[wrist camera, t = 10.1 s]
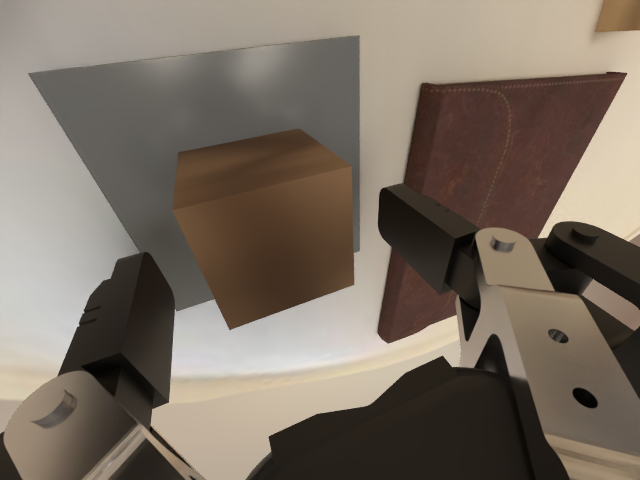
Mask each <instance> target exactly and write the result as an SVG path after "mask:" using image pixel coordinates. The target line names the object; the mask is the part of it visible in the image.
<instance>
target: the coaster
mask: <svg viewBox="0 0 640 480" xmlns="http://www.w3.org/2000/svg"><path fill="white" fill-rule="evenodd" d="M28 74H29V76H30V77H31V79H32V81H33V82H34V84H35V85H36V87H37V89H38V90H39V92H40V93H41V95H42V97H43V98H44V100H45V101H46V103H47V105H48V106H49V108H50V109H51V111H52V113H53V114H54V116H55V117H56V119H57V121H58V122H59V124H60V125H61V127H62V129H63V130H64V132H65V133H66V135H67V137H68V138H69V140H70V141H71V143H72V145H73V146H74V148H75V149H76V151H77V153H78V154H79V156H80V157H81V159H82V161H83V162H84V164H85V165H86V167H87V169H88V170H89V172H90V173H91V175H92V177H93V178H94V180H95V181H96V183H97V185H98V186H99V188H100V189H101V191H102V193H103V194H104V196H105V197H106V199H107V201H108V202H109V204H110V205H111V207H112V209H113V210H114V212H115V213H116V215H117V217H118V218H119V220H120V221H121V223H122V225H123V226H124V228H125V229H126V231H127V232H128V234H129V236H130V237H131V239H132V240H133V242H134V244H135V245H136V247H137V248H138V250H139V252H140V253H143V252H148V253H150V254H151V256H152V257H153V259H154V260H155V262H156V264H157V265H158V267H159V269H160V270H161V272H162V274H163V275H164V277H165V279H166V280H167V282H168V284H169V285H170V287H171V289H172V292H173V295H174V299H175V309H176V311H179V310H182V309H185V308H188V307H191V306H194V305H197V304H200V303H203V302H206V301H209V300H212V299H215V298H214V296H213V294H212V292H211V290H210V288H209V286H208V284H207V282H206V280H205V278H204V275H203V273H202V271H201V269H200V267H199V265H198V263H197V261H196V259H195V257H194V255H193V253H192V250H191V248H190V246H189V244H188V242H187V240H186V238H185V236H184V234H183V232H182V230H181V228H180V225H179V223H178V221H177V219H176V217H175V215H174V213H173V211H172V207H173V198H174V189H175V179H176V170H177V161H178V152H183V151H188V150H193V149H198V148H203V147H208V146H213V145H218V144H223V143H228V142H233V141H238V140H243V139H248V138H253V137H258V136H263V135H268V134H273V133H278V132H284V131H289V130H294V129H299V128H300V129H301V130H303V131H304V132H305V133H307V134H308V135H310V136H311V137H312V138H314V139H315V140H316V141H318V142H319V143H321V144H322V145H323V146H325V147H326V148H328V149H329V150H330V151H332V152H333V153H334V154H336V155H337V156H339V157H340V158H341V159H343V160H344V161H345V162H347V163H348V164H350V165H351V166H352V199H353V248H354V253H355V252H358V251H360V206H359V36H348V37H339V38H330V39H322V40H313V41H304V42H296V43H287V44H278V45H269V46H261V47H252V48H243V49H235V50H226V51H217V52H208V53H200V54H191V55H182V56H173V57H165V58H156V59H147V60H139V61H130V62H121V63H112V64H104V65H95V66H86V67H78V68H69V69H60V70H51V71H43V72H35V73H28Z"/></svg>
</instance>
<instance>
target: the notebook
mask: <svg viewBox="0 0 640 480" xmlns="http://www.w3.org/2000/svg"><path fill="white" fill-rule="evenodd" d="M626 75H627V73H620V72H607V73H606V74H596V75H580V76H564V77H548V78H533V79H517V80H501V81H485V82H469V83H453V84H438V85H436V84H429V83H422V88H421V93H420V99H419V104H418V110H417V116H416V121H415V127H414V132H413V138H412V143H411V149H410V154H409V160H408V166H407V171H406V177H405V182H404V185H406V186H407V187H409V188H410V189H412V190H413V191H415V192H417V193H420V194H423V195H426V196H429V197H431V198H433V199H434V200H436V201H438V202H439V203H441V205H444V206H445V207H447V208H449V210H450V211H451V210H452V211H453V212H455V213H457V214H458V215H460V216H461V217H463V218H464V219H466V220H468V221H469V222H471V223H472V224H474V225H476V226H477V227H479V228H480V229H485V228H493V227H494V228H504V229H508V230H512V231H514V232H517V233H519V234H521V235H523V236H524V237H526V238H527V239H537V238H538V236H539V234H540V233H541V231H542V229H543V227H544V225H545V223H546V222H547V220H548V218H549V216H550V214H551V213H552V211H553V209H554V207H555V205H556V203H557V202H558V200H559V198H560V196H561V194H562V192H563V191H564V189H565V187H566V185H567V183H568V181H569V180H570V178H571V176H572V174H573V172H574V170H575V169H576V167H577V165H578V163H579V161H580V159H581V158H582V156H583V154H584V152H585V150H586V148H587V147H588V145H589V143H590V141H591V139H592V137H593V136H594V134H595V132H596V130H597V128H598V126H599V125H600V123H601V121H602V119H603V117H604V115H605V114H606V112H607V110H608V108H609V106H610V104H611V103H612V101H613V99H614V97H615V95H616V93H617V92H618V90H619V88H620V86H621V84H622V83H623V81H624V79H625V77H626ZM456 295H457V293H456V292H455V291H454V290H452V291H450V292H447V293H445V294H442V295H439V294H438V293H437V292H436V291H435V290H434V289H433V288H432V287H431V286H430V285H429V284H428V283H427V282H426V281H425V280H424V279H423V278H422V277H421V276H420V275H419V274H418V273H417V272H416V271H415V270H414V269H413V268H412V267H411V266H410V265H409V264H408V263H407V262H406V261H405V260H404V259H403V258H402V257H401V256H400V255H399V254H398V253H397V252H396V251H395V250H394V249H392V255H391V260H390V266H389V271H388V277H387V283H386V288H385V294H384V299H383V305H382V310H381V316H380V322H379V327H378V334H379V336H380V337H381V339H382V340H384V341H385V342H387V343H391V342H394V341H397V340H399V339H402V338H405V337H408V336H410V335H413V334H415V333H417V332H419V331H421V330H423V329H424V328H426V327H427V326H429V325H431V324H434V323H436V322H439V321H441V320H444V319H447V318H449V317H452V316H455V315H457V312H456V304H455V299H456Z"/></svg>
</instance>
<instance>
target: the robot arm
mask: <svg viewBox="0 0 640 480" xmlns="http://www.w3.org/2000/svg"><path fill="white" fill-rule="evenodd" d="M378 228H379V232H380V234H381V236H382V238H383V239H384V240H385V241H386V242H387V243H388V244H389V245H390V246H391V247H392V248H393V249H394V250H395V251H396V252H397V253H398V254H399V255H400V256H401V257H402V258H403V259H404V260H405V261H406V262H407V263H408V264H409V265H410V266H411V267H412V268H413V269H414V270H415V271H416V272H417V273H418V274H419V275H420V276H421V277H422V278H423V279H424V280H425V281H426V282H427V283H428V284H429V285H430V286H431V287H432V288H433V289H434V290H435V291H436V292H437V293H438V294H439V295H442V294H445V293H447V292H450V291H452V290H454V291H455V292H456V293H457V295H456V299H455V304H456V312H457V321H458V329H459V337H460V345H461V357H460V364H459V367H451V365H450V364H449V363H448V362H447V360H446V359H445V358H444V357H443V356H441V357H439V358H437V359H435V360H432V361H430V362H428V363H426V364H424V365H422V366H419V367H417V368H415V369H413V370H411V371H409V372H407V373H405V374H404V375H403V376H401V377H400V378H399V380H397V381H396V382H395V383H394V384H393V385H392V386H391V387H390V388H388V389H387V390H386V391H385V392H384V393H383V394H382V395H381V396H380V397H379V398H378V399H377V400H375V401H374V402H373V403H372V404H371V405H368V406H365V407H360V408H353V409H347V410H340V411H334V412H328V413H321V414H316V415H314V416H312V417H310V418H307V419H305V420H303V421H301V422H299V423H297V424H295V425H292V426H290V427H288V428H286V429H284V430H282V431H280V432H277V433H275V434H273V435H271V436H269V441H270V446H271V452H270V453H269V454H268V455H267V456H266V457H265V458H264V459H263V460H262V461H261V462H260V463H259V464H258V465H257V466H256V467H255V468H254V469H253V470H252V472H251V473H250V474H249V476H248V477H247V479H246V480H640V327H639V328H638V329H636V330H635V331H634V330H632V329H630V328H629V327H627V326H626V325H624V324H623V323H622V322H620V321H619V320H617V319H616V318H614V317H613V316H611V315H610V314H608V313H607V312H606V311H604V310H603V309H601V308H600V307H598V306H597V305H595V304H594V303H592V302H591V301H589V300H588V299H587V298H585V297H584V296H582V293H583V292H584V290H585V289H586V288H587V286H588V285H589V284H590V282H591V281H592V280H593V279H594V280H596V281H597V282H599V283H600V284H602V285H604V286H605V287H607V288H609V289H610V290H612V291H614V292H615V293H617V294H618V295H620V296H622V297H623V298H625V299H626V300H628V301H629V302H631V303H633V304H634V305H635V306H637V307H638V308H639V310H640V247H638V246H636V245H634V244H632V243H630V242H628V241H626V240H624V239H622V238H620V237H617V236H615V235H613V234H611V233H609V232H607V231H605V230H603V229H601V228H598V227H596V226H593V225H589V224H585V223H581V222H572V221H567V222H560V223H557V224H555V225H554V227H553V228H552V230H551V232H550V234H549V236H548V238H538V239H527V238H526V237H524V236H523V235H521V234H519V233H517V232H514V231H512V230H508V229H504V228H494V227H493V228H485V229H480V228H479V227H477V226H476V225H474V224H472V223H471V222H469V221H468V220H466V219H464V218H463V217H461V216H460V215H458V214H457V213H455V212H453V211H452V210H451V211H450V210H449V208H447V207H445V206H444V205H441V203H439V202H438V201H436V200H434V199H433V198H431V197H429V196H426V195H423V194H420V193H417V192H415V191H413V190H412V189H410V188H409V187H407V186H406V185H404V184H397V185H393V186H389V187H386V188H382V189H381V191H380V194H379V212H378ZM84 312H85V313H84V314H82V317H81V319H80V322H79V325H80V326H79V327H77V329H76V332H75V334H74V337H73V339H72V342H71V344H70V346H69V349H68V351H67V354H66V356H65V359H64V361H63V364H62V366H61V369H60V371H59V374H58V376H57V377H56V378H54V379H52V380H50V381H49V382H47V383H45V384H44V385H42V386H41V387H40V388H38V389H37V390H36V391H34V392H33V393H32V394H31V395H30V396H29V397H28V398H27V399H26V400H25V401H24V402H23V403H22V404H21V405H20V406H19V407H18V408H17V410H16V411H15V412H14V414H13V415H12V417H11V419H10V420H9V422H8V424H7V426H6V429H5V431H4V432H2V433H1V434H0V480H206V479H205V478H204V477H202V475H200V474H199V473H198V472H197V471H196V470H195V469H194V468H193V467H192V466H191V465H190V464H189V462H187V460H186V459H184V457H183V456H182V455H181V454H180V453H179V452H178V451H177V450H176V449H175V448H174V447H173V446H172V445H171V444H170V443H169V442H168V441H167V440H166V439H165V438H164V437H163V436H162V435H161V434H160V433H159V432H158V431H157V430H156V429H155V428H154V427H153V426H152V425H151V415H152V409H154V408H156V407H159V406H161V405H164V404H166V403H169V393H170V377H171V361H172V345H173V329H174V313H175V299H174V295H173V292H172V289H171V287H170V285H169V284H168V282H167V280H166V279H165V277H164V275H163V274H162V272H161V270H160V269H159V267H158V265H157V264H156V262H155V260H154V259H153V257H152V256H151V254H150V253H148V252H143V253H139V254H136V255H132V256H128V257H125V258H121V259H118V260H117V262H116V265H115V268H114V271H113V273H112V276H111V279H108V280H104V281H103V282H102V283H101V284H100V285H99V286H98V287H97V288H96V290H95V291H94V292H93V293H92V294H91V295H90V297H89V300H88V302H87V305H86V307H85V309H84Z"/></svg>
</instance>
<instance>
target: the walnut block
mask: <svg viewBox="0 0 640 480" xmlns="http://www.w3.org/2000/svg"><path fill="white" fill-rule="evenodd" d="M172 211H173V213H174V215H175V217H176V219H177V221H178V223H179V225H180V228H181V230H182V232H183V234H184V236H185V238H186V240H187V242H188V244H189V246H190V248H191V250H192V253H193V255H194V257H195V259H196V261H197V263H198V265H199V267H200V269H201V271H202V273H203V275H204V278H205V280H206V282H207V284H208V286H209V288H210V290H211V292H212V294H213V296H214V298H215V300H216V303H217V305H218V307H219V309H220V311H221V313H222V315H223V317H224V319H225V321H226V323H227V325H228V328H229V330H231V329H233V328H236V327H239V326H242V325H244V324H247V323H250V322H253V321H255V320H258V319H261V318H264V317H266V316H269V315H272V314H275V313H277V312H280V311H283V310H286V309H288V308H291V307H294V306H297V305H299V304H302V303H305V302H308V301H310V300H313V299H316V298H319V297H321V296H324V295H327V294H330V293H333V292H335V291H338V290H341V289H344V288H346V287H349V286H352V285H354V248H353V199H352V166H351V165H350V164H348V163H347V162H345V161H344V160H343V159H341V158H340V157H339V156H337V155H336V154H334V153H333V152H332V151H330V150H329V149H328V148H326V147H325V146H323V145H322V144H321V143H319V142H318V141H316V140H315V139H314V138H312V137H311V136H310V135H308V134H307V133H305V132H304V131H303V130H301V129H300V128H299V129H294V130H289V131H284V132H278V133H273V134H268V135H263V136H258V137H253V138H248V139H243V140H238V141H233V142H228V143H223V144H218V145H213V146H208V147H203V148H198V149H193V150H188V151H183V152H178V161H177V170H176V179H175V189H174V198H173V207H172Z"/></svg>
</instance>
